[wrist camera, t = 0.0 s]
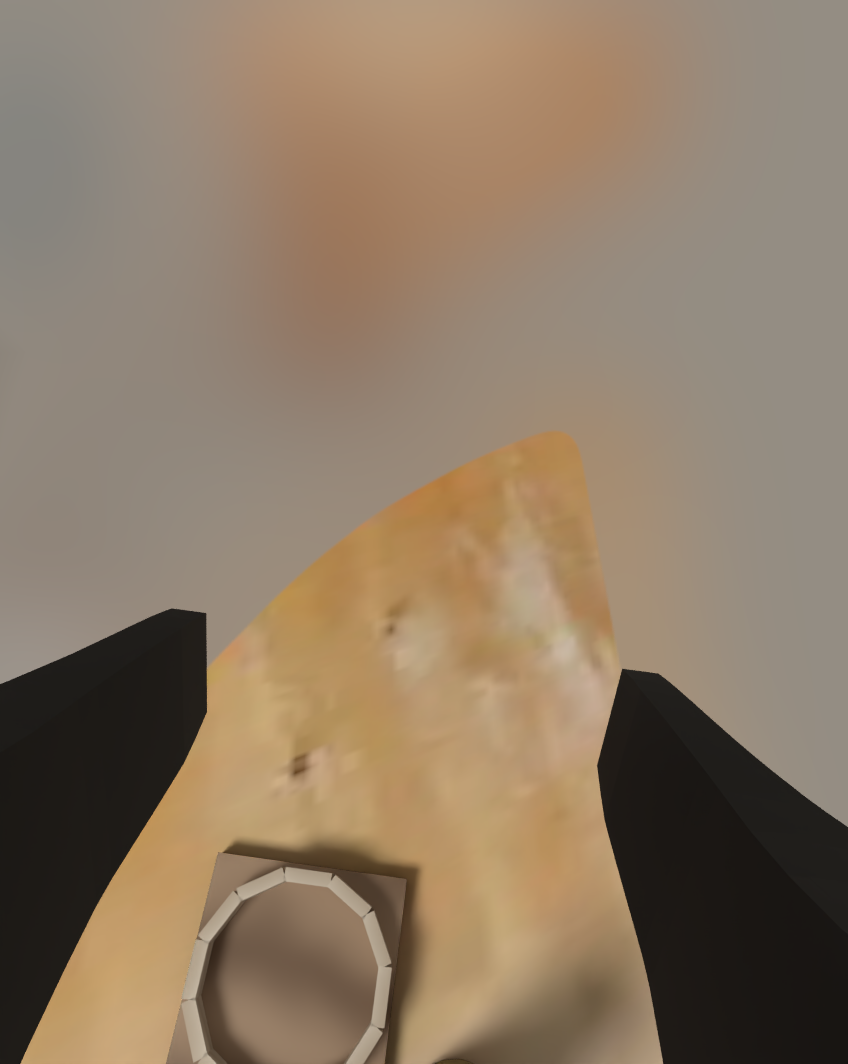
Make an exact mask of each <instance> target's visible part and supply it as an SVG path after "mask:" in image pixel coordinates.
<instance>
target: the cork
mask: <svg viewBox="0 0 848 1064" xmlns="http://www.w3.org/2000/svg"><path fill="white" fill-rule="evenodd" d="M436 1064H473V1063H471V1062H468V1061H465V1060H462V1059H455V1060H442V1061H440V1062H438V1063H436Z"/></svg>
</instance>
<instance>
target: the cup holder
mask: <svg viewBox="0 0 848 1064" xmlns="http://www.w3.org/2000/svg"><path fill="white" fill-rule="evenodd" d="M406 883H407V879H403V878H396V877H389V876H382V875H375V874H368V873H361V872H354V871H347V870H340V869H333V868H326V867H319V866H312V865H305V864H297V863H290V862H283V861H276V860H269V859H262V858H255V857H248V856H241V855H234V854H227V853H220V852H218V855H217V859H216V863H215V867H214V871H213V875H212V879H211V883H210V887H209V891H208V895H207V899H206V903H205V907H204V911H203V916H202V920H201V924H200V928H199V932H198V936H197V939H196V941H195V945H194V949H193V953H192V957H191V961H190V965H189V969H188V973H187V977H186V982H185V986H184V990H183V994H182V998H181V999H182V1001H181V1005H180V1009H179V1013H178V1017H177V1021H176V1025H175V1029H174V1033H173V1037H172V1041H171V1045H170V1049H169V1053H168V1058H167V1062H166V1064H385V1056H386V1048H387V1040H388V1031H389V1023H390V1015H391V1007H392V998H393V990H394V982H395V974H396V965H397V957H398V949H399V941H400V932H401V924H402V916H403V908H404V899H405V891H406Z"/></svg>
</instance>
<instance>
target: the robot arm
mask: <svg viewBox="0 0 848 1064" xmlns="http://www.w3.org/2000/svg"><path fill="white" fill-rule="evenodd" d="M206 654H207V651H206V613H201V612H194V611H186V610H179V609H169V610H166V611H164V612H161V613H159V614H156V615H154V616H152V617H149V618H147V619H145V620H143V621H141V622H139V623H136V624H134V625H132V626H130V627H128V628H126V629H124V630H122V631H120V632H117V633H115V634H113V635H111V636H109V637H107V638H105V639H103V640H100V641H99V642H96V643H94V644H92V645H90V646H88V647H86V648H84V649H81V650H79V651H77V652H75V653H73V654H71V655H68V656H66V657H64V658H61V659H59V660H57V661H54V662H52V663H50V664H47V665H45V666H43V667H40V668H38V669H36V670H33V671H31V672H28V673H26V674H24V675H21V676H19V677H17V678H15V679H12V680H10V681H7V682H5V683H2V684H0V1064H20V1063H21V1061H22V1059H23V1056H24V1054H25V1052H26V1050H27V1048H28V1045H29V1043H30V1041H31V1039H32V1037H33V1035H34V1033H35V1031H36V1028H37V1026H38V1024H39V1022H40V1020H41V1018H42V1016H43V1014H44V1012H45V1009H46V1007H47V1005H48V1003H49V1001H50V999H51V997H52V995H53V993H54V990H55V988H56V986H57V984H58V982H59V980H60V978H61V976H62V974H63V971H64V969H65V967H66V965H67V963H68V961H69V959H70V957H71V955H72V953H73V951H74V949H75V947H76V945H77V943H78V941H79V939H80V937H81V935H82V933H83V931H84V929H85V927H86V925H87V923H88V921H89V919H90V917H91V915H92V913H93V911H94V909H95V907H96V906H97V904H98V902H99V900H100V899H101V897H102V895H103V893H104V892H105V890H106V888H107V886H108V885H109V883H110V881H111V879H112V878H113V876H114V874H115V873H116V871H117V870H118V868H119V867H120V865H121V863H122V862H123V860H124V859H125V857H126V855H127V854H128V852H129V851H130V849H131V847H132V846H133V844H134V843H135V841H136V839H137V838H138V836H139V835H140V833H141V831H142V830H143V828H144V827H145V825H146V823H147V822H148V820H149V819H150V817H151V816H152V814H153V812H154V811H155V809H156V808H157V806H158V804H159V803H160V801H161V800H162V798H163V796H164V795H165V793H166V791H167V790H168V788H169V787H170V785H171V783H172V782H173V780H174V778H175V777H176V775H177V774H178V772H179V770H180V769H181V767H182V765H183V764H184V762H185V760H186V758H187V755H188V753H189V751H190V749H191V747H192V745H193V743H194V740H195V738H196V736H197V734H198V731H199V729H200V727H201V724H202V722H203V720H204V717H205V715H206V713H207V658H206V657H207V655H206ZM597 768H598V775H599V783H600V791H601V799H602V805H603V812H604V818H605V823H606V827H607V831H608V834H609V838H610V842H611V845H612V849H613V853H614V856H615V860H616V864H617V867H618V871H619V874H620V878H621V882H622V885H623V889H624V892H625V896H626V899H627V903H628V906H629V910H630V913H631V917H632V921H633V924H634V928H635V931H636V935H637V938H638V942H639V945H640V949H641V953H642V957H643V961H644V965H645V969H646V973H647V978H648V982H649V986H650V991H651V997H652V1002H653V1008H654V1014H655V1019H656V1025H657V1030H658V1036H659V1041H660V1047H661V1052H662V1058H663V1064H848V827H847V826H845V825H844V824H842V823H841V822H840V821H838V820H836V819H835V818H834V817H832V816H831V815H829V814H828V813H826V812H825V811H824V810H822V809H821V808H820V807H818V806H817V805H816V804H814V803H813V802H811V801H810V800H808V799H807V798H806V797H805V796H803V795H802V794H801V793H800V792H798V791H797V790H796V789H794V788H793V787H792V786H791V785H789V784H788V783H787V782H786V781H784V780H783V779H782V778H780V777H779V776H778V775H777V774H775V773H774V772H773V771H772V770H770V769H769V768H768V767H767V766H765V765H764V764H763V763H762V762H760V761H759V760H758V759H757V758H756V757H755V756H753V755H752V754H751V753H750V752H749V751H747V750H746V749H745V748H744V747H743V746H741V745H740V744H739V743H738V742H737V741H736V740H734V739H733V738H732V737H731V736H730V735H729V734H728V733H726V732H725V731H724V730H723V729H722V728H721V727H720V726H719V725H717V724H716V723H715V722H714V721H713V720H712V719H711V718H710V717H708V716H707V715H706V714H705V713H704V712H703V711H702V710H701V709H700V708H698V707H697V706H696V705H695V704H694V703H693V702H692V701H691V700H689V699H688V698H687V697H686V696H685V695H684V694H683V693H681V692H680V691H679V690H678V689H677V688H676V687H675V686H673V685H672V684H671V683H670V682H668V681H667V680H666V679H665V678H663V677H662V676H661V675H659V674H656V673H650V672H642V671H635V670H627V669H622V672H621V676H620V680H619V684H618V687H617V691H616V695H615V699H614V703H613V707H612V710H611V714H610V718H609V722H608V726H607V730H606V734H605V737H604V741H603V745H602V749H601V753H600V757H599V760H598V764H597Z"/></svg>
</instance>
